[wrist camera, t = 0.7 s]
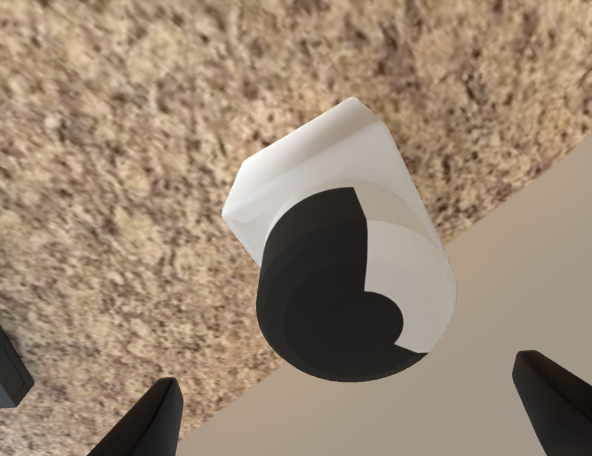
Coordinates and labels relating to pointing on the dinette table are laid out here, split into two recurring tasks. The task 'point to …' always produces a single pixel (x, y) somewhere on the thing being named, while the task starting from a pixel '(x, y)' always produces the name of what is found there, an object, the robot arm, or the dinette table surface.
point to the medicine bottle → (342, 249)
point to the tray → (12, 375)
